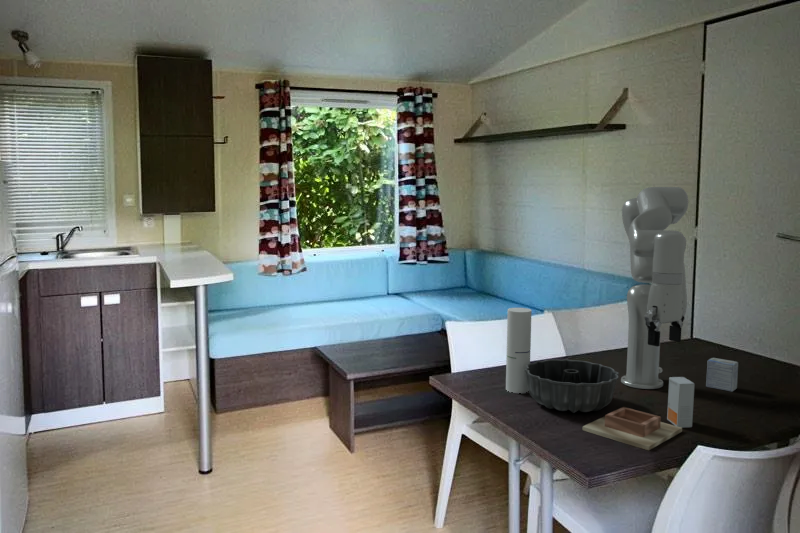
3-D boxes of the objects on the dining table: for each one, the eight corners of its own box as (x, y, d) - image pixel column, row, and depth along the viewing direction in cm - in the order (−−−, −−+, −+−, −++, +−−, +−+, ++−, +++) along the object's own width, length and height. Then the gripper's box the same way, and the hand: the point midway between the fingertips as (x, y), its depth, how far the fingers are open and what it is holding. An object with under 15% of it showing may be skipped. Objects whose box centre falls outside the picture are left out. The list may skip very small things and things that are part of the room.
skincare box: (666, 419, 184) (668, 376, 182) (681, 419, 184) (683, 376, 183) (677, 428, 178) (679, 383, 176) (692, 427, 178) (695, 383, 177)
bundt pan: (541, 384, 215) (542, 353, 214) (627, 398, 202) (628, 365, 200) (510, 409, 193) (510, 374, 191) (604, 426, 179) (605, 389, 178)
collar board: (617, 413, 188) (618, 399, 188) (682, 431, 175) (682, 416, 175) (582, 430, 176) (583, 415, 176) (648, 450, 163) (649, 434, 163)
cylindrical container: (529, 394, 205) (531, 312, 202) (505, 392, 207) (507, 311, 203) (529, 387, 212) (531, 308, 209) (506, 385, 214) (508, 307, 210)
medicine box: (737, 389, 211) (739, 361, 210) (732, 392, 208) (734, 364, 206) (710, 383, 216) (712, 357, 215) (705, 386, 213) (707, 359, 212)
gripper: (673, 275, 188) (670, 337, 189) (635, 280, 178) (632, 344, 179) (698, 278, 182) (695, 341, 183) (661, 283, 171) (657, 350, 173)
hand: (664, 343), depth 181 cm, fingers open, 9 cm apart
